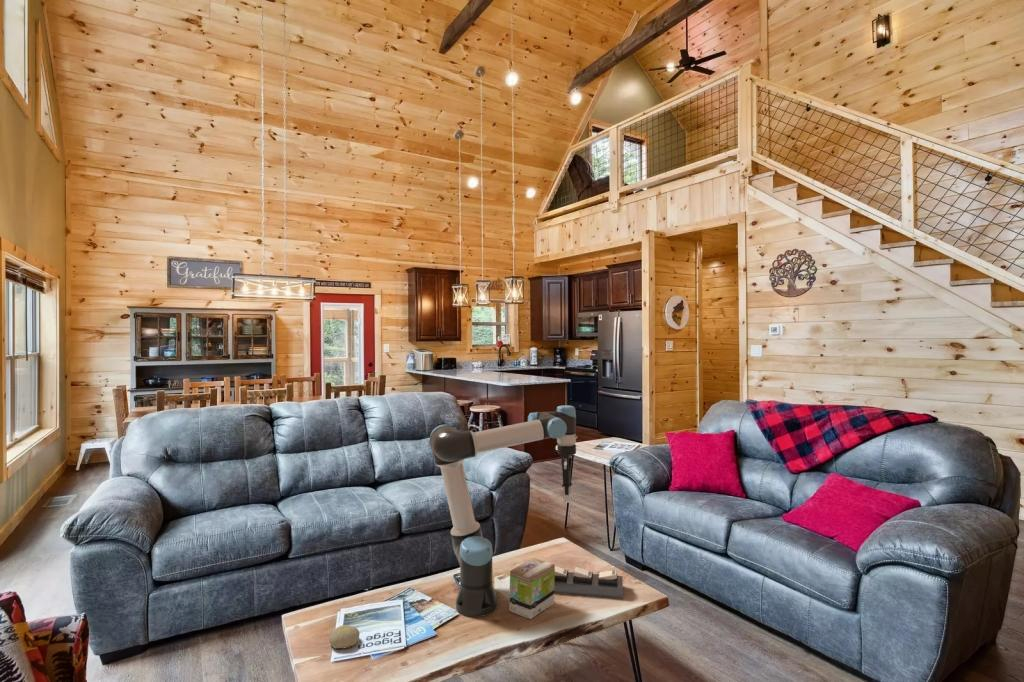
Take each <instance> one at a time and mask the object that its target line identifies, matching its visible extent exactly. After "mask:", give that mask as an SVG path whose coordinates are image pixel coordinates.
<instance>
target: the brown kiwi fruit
mask: <svg viewBox="0 0 1024 682" xmlns="http://www.w3.org/2000/svg"><path fill="white" fill-rule="evenodd" d="M359 640H360V630H359V629H358V627H356V626H352V625H347V624H342V625H340V626H338V627H336V628H335V629H333V630H332V631H331V633H330V635H329V643H330V645H331V646H332V647H333V648H334V647H335V648H334V649H336V648H342V649H345V648H344V647H348V648H350V647H349V646H352V647H353V646H354V645H356V643H357V642H358V641H359Z"/></svg>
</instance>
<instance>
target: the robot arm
mask: <svg viewBox="0 0 1024 682" xmlns="http://www.w3.org/2000/svg"><path fill="white" fill-rule="evenodd" d="M576 413H577V412H576V408H575V406H573V405H568V404H567V405H566V404H565V405H559V406H557V407H556V410H554V411H536V412H530V413H529V414H528V416H527V421H525V422H519V423H514V424H511V425H505V426H504V425H503V426H499V427H494V428H490V429H485V430H480V431H475V432H474V431H472V430H463V431H460V430H458V429H457V428H456V427H455V426H453V425H450V424H441V425H438V426H436V427H435V428H434V429H433V430H431V433H430V435H429V438H428V439H429V441H428V442H429V446H430V448H431V450H432V451H431V452H432V454H433V455H432V456H433V459H434V463H435V466H437V467H439V468H440V472H441V476H442V481H443V486H444V490H445V495H446V496H445V497H446V499H447V503H448V509H449V514H450V518H451V522H452V526H453V527H452V528H451V530H450V536H451V540H452V541H451V542H452V549H453V552H454V555H455V556H456V559H457V561H458V564H459V568H460V571H459V572H460V574H459V575H460V578H459V579H460V586H459V590H458V591H457V592H458V593H457V596H456V599H455V610H456V611H457V612H458V614H461V615H463V616H466V617H472V618H473V617H477V618H478V617H484V616H488V615H491V614H493V613H494V612H495V611H496V610H497V609H498V603H499V602H498V597H497V593H496V591H495V587H494V585H493V584H494V583H493V582H494V581H493V578H494V577H493V556H494V552H493V551H494V550H493V545H492V542H491V541H490V540H489V539H488V538H485V537H483V532H482V529H481V524H480V523H479V522H478V521H477V520H476V519H475V514H474V509H473V506H472V501H471V497H470V496H471V495H470V492H469V487H468V483H467V482H468V481H467V477H466V474H465V469H464V465H463V462H464V460H468V459H472V458H476V457H477V456H478V454H482V453H485V452H490V451H494V450H499V449H504V448H508V447H513V446H518V445H522V444H527V443H531V442H532V443H533V442H536V441H542V440H546V439H551V438H552V439H556V443H557V445H556V446H557V447H556V449H557V450H556V451H557V454H558V455H560V456H562V458H561V469H562V485H561V487H563V503H564V504H565V503H568V504H570V503H571V498H572V497H571V494H572V493H571V486H573V483H572V479H571V478H572V462H573V457H571V456H575V455H576V454H577V444H576V442H577V439H578V436H577V432H576V431H577V429H576V427H577V426H576V425H577V415H576Z"/></svg>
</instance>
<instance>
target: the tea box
mask: <svg viewBox="0 0 1024 682" xmlns="http://www.w3.org/2000/svg"><path fill="white" fill-rule="evenodd" d="M555 566H556V565H555V564H554V563H552V562H549V561H545V560H541V559H538V558H535V557H532V558H531V559H529V560H527V561H525V562H524V563H522V564H520V565H519V566H517V567H515V568H513V569H511V570H509V606H508V607H509V608H508V609H509V612H511V613H513V614H517V615H519V616H521V617H524V618H527V619H529V620H532V619H533V618H534V617H536V616H537V615H539V614H540V613H541V612H543V611H545V610H546V609H547V608H549V607H550V606H552V605H554V604H555V593H554V590H555V585H554V582H555Z"/></svg>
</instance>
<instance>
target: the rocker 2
mask: <svg viewBox="0 0 1024 682" xmlns="http://www.w3.org/2000/svg"><path fill="white" fill-rule="evenodd" d="M573 572H574V576H576V577H580V578H591V576H592V572H593V571H592V570H591V571H590V570H587V569H585V568H581V567H579V566H578V567H577V566H575V568H574V571H573Z"/></svg>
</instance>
